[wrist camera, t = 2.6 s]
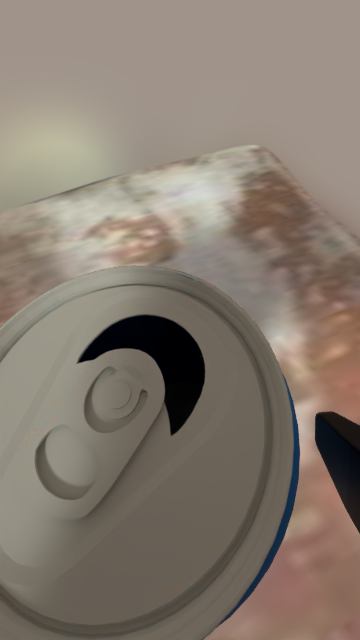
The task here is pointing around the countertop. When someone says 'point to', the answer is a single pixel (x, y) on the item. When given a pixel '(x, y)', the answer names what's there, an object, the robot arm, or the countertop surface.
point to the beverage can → (138, 459)
